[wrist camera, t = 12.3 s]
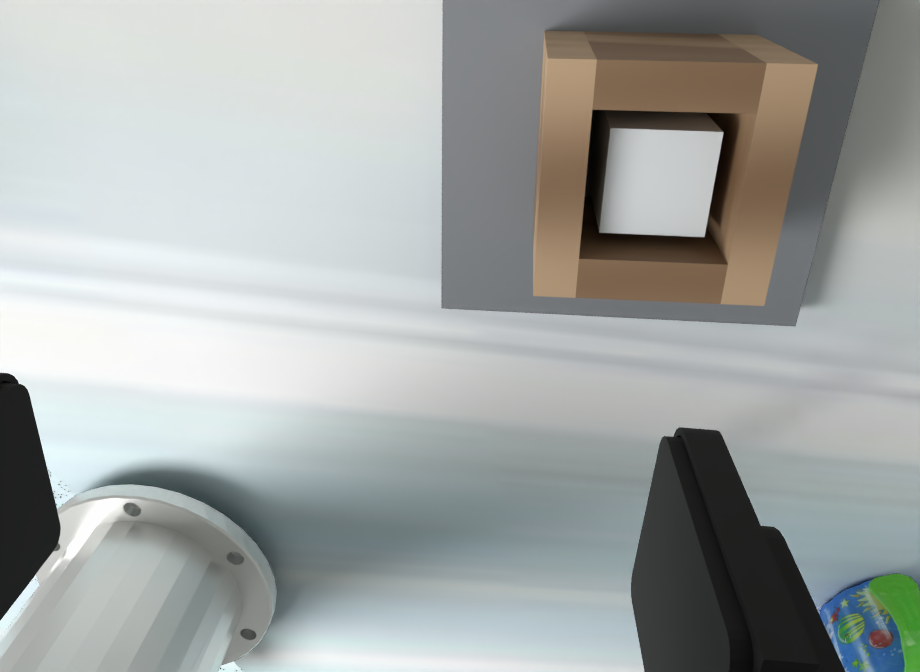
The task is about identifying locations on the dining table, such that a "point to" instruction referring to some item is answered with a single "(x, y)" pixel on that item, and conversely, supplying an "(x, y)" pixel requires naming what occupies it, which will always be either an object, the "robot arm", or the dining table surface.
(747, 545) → the robot arm
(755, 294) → the brown wooden square box
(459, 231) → the board
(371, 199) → the dining table surface
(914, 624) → the snack cup
